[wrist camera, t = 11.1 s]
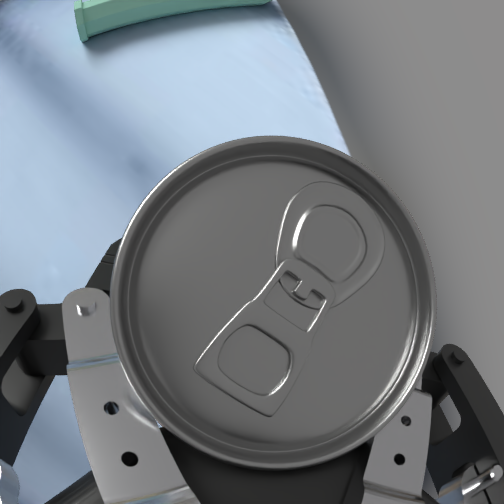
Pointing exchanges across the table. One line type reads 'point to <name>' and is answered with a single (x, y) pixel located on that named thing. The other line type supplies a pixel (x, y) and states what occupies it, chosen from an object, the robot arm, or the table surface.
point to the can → (273, 303)
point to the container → (139, 12)
